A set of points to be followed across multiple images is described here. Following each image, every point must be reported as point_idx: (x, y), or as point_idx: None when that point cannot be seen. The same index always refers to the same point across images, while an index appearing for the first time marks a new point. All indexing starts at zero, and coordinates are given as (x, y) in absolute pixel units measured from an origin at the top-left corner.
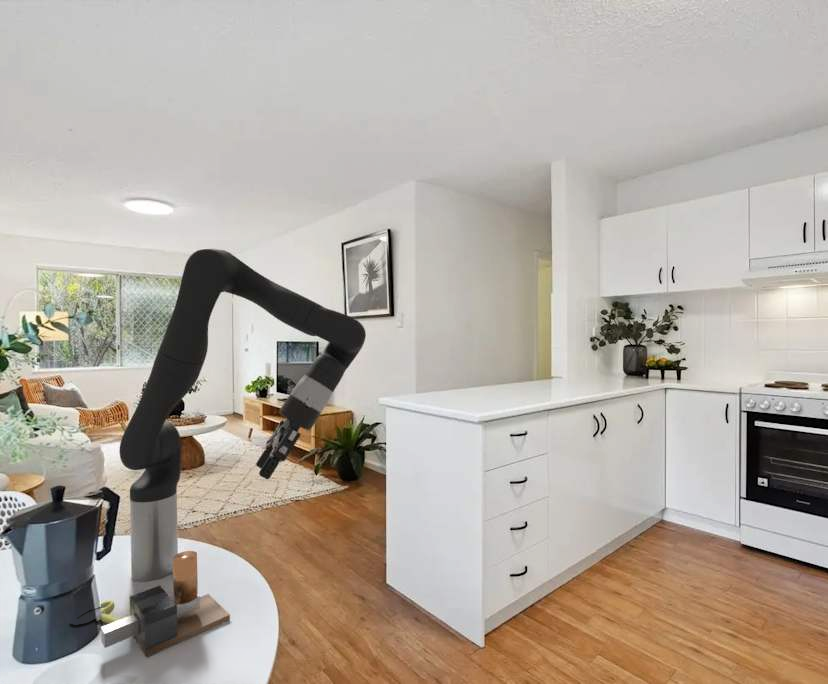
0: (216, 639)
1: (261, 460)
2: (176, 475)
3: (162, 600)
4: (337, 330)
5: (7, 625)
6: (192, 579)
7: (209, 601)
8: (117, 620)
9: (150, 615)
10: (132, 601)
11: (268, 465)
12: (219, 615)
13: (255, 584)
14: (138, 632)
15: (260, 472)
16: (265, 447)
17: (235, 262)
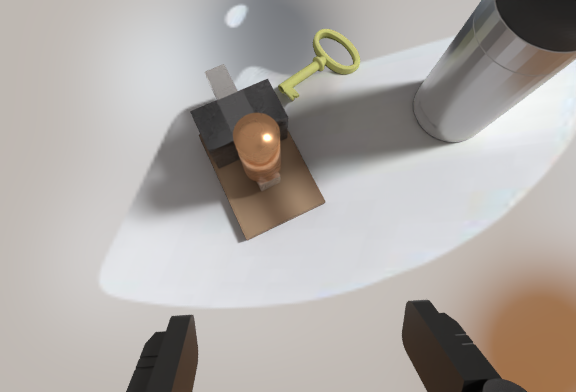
0: (204, 223)
1: (421, 334)
2: None
3: (233, 128)
4: None
5: None
6: (243, 164)
7: (299, 205)
8: (282, 84)
9: (193, 118)
10: (252, 86)
11: (133, 382)
12: (249, 223)
13: (347, 281)
14: None
15: (169, 323)
16: (509, 382)
17: None
